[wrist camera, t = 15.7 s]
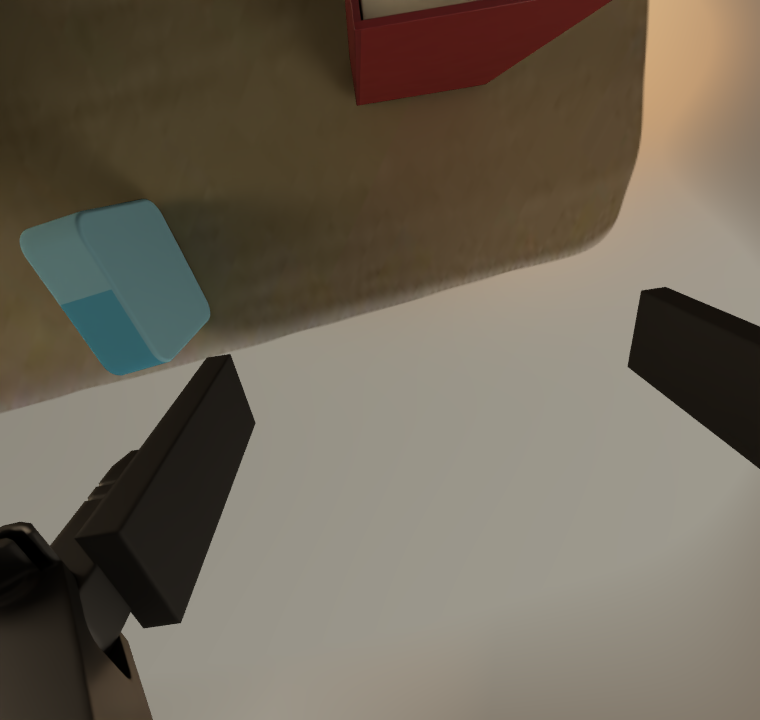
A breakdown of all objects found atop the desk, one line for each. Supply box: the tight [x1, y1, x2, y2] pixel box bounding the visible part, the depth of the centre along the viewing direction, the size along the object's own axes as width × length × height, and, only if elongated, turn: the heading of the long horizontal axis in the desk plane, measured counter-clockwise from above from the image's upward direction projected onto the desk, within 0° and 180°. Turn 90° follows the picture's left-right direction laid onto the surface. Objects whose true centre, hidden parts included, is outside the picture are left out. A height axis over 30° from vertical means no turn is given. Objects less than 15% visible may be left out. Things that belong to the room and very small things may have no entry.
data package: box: [20, 199, 210, 375], centre depth 33 cm, size 12×4×12 cm, turn 16°
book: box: [345, 0, 612, 106], centre depth 23 cm, size 20×11×4 cm
